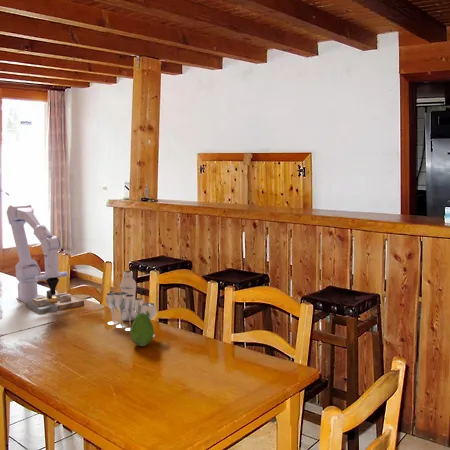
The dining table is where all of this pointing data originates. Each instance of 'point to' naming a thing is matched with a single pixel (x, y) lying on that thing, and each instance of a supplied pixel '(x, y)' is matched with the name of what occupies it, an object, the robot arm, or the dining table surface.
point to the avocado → (142, 330)
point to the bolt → (50, 297)
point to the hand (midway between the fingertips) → (52, 294)
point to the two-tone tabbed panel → (54, 303)
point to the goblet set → (128, 307)
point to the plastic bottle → (128, 293)
